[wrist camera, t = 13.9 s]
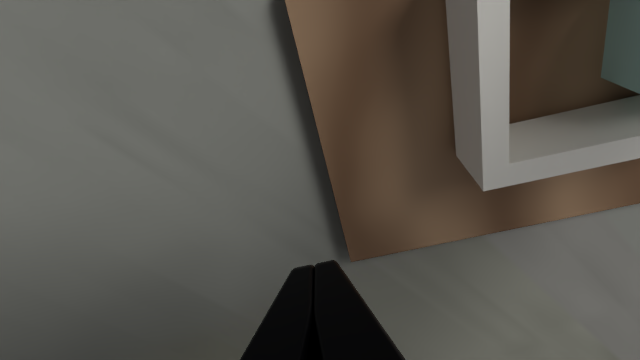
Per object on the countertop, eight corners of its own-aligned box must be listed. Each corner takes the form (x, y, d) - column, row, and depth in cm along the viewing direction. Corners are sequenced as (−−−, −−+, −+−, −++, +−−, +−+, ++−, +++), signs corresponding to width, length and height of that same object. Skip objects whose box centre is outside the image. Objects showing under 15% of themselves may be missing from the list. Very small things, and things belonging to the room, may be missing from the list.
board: (761, -143, 15) (790, -148, 14) (679, 181, 21) (695, 191, 21) (282, -17, 16) (280, -15, 15) (348, 250, 23) (350, 262, 22)
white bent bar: (764, -131, 14) (882, -152, 11) (704, 100, 18) (779, 128, 15) (442, -48, 15) (475, -47, 12) (456, 155, 19) (483, 191, 16)
